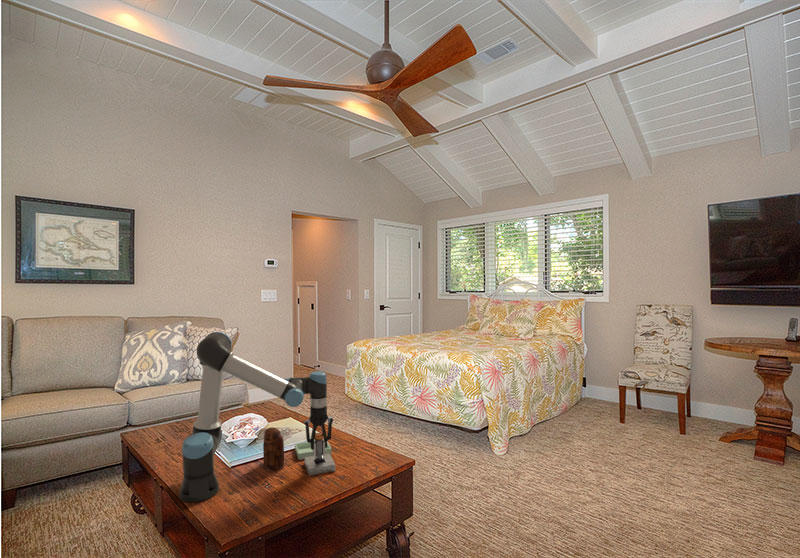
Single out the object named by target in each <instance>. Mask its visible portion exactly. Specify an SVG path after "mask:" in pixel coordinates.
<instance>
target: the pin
mask: <svg viewBox="0 0 800 558" xmlns="http://www.w3.org/2000/svg"><path fill="white" fill-rule="evenodd" d="M323 439H324V435H323V433H322V432H316V434H315V437H314V441H315V443H316V457H315V464H319V463H323Z"/></svg>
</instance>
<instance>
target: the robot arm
mask: <svg viewBox="0 0 800 558" xmlns="http://www.w3.org/2000/svg"><path fill="white" fill-rule="evenodd" d="M196 357H197V359H198V360H199V365H200V366H201V367H202V374H201V375H202V376H201V383H200V392H199V393H200V395H199V401H198V412H197V420H196V421H194V423H193V424H192V434H190V435H188V436H187V437H185V439H184V440H183V442H182V447H181V452H182V467H183V468H182V470H183V473H182V474H183V478H182V481H181V483H180V484H181V485H180V488H179V493H178V494H179V499H180V500H181V501H183V502H187V503H198V502H202V501H206V500H208V499H210V498H213V497H214V496H216V495H217V494H218V492H219V491H220V483H219V481H218V477H217V475H216V474H215V473H216V472H215V461H214V457H215V454H216V451H217V449H218V447H219V446H220V444H221V442H222V439H223V438H222V437H223V433H222V421H220V419H219V417H220V410H221V409H220V407H221V399H222V398H221V397H222V390H223V389H222V388H223V382H224V381H223V380H224V379H223V378H224V372H225V373H226V374H230V375H231V376H234V377H236V379H239V380H242V381H244V382H246V383H248V384H249V385H252V386H254V387H256V388H258V389H260V390H261V391H262V390H263V391H264V392H267V394H268V393H269V394H270V395H273V396H274V397H277V398H278V399H281V400H283V401H285V403H286V405H287V406H288V407H291V408H296V407H298V406H300V405H301V404H302V403H303V401H304V398H305V395H309V397H310V398H309V399H310V400H309V404H310V408H309V409H310V410H309V413H310V414H309V417H308V419H307V420H306V419H305V420H304V421H303V423H304V425H305V433H306V434H305V435H306V436H305V437H306V438H305V439H306V442H308V443H311V449H312V450H313V456H314V457H316V443H315V439H314V437H315V434H316V433H317V428H318V427H319V426H320V427H321V433H323V435H324V440H323V456H325V448H327V441H328V442H329V440H331V439H332V431H333V430H332V427H333V423H334V418H333V416H329V415H328V407H327V404H328V401H327V399H328V398H327V397H328V396H327V394H328V393H327V392H328V390H327V387H328V386H327V385H328V384H327V383H328V381H327V373H326V372H324V371H320V370H318V371H317V370H316V371H312V372H310V373H309V376H307V377H304V376H303V377H286V378H282V377H280V376H277V375H275V373H271V372H270V371H268V370H266V369H264V368H262V367H259V366H258V365H256V364H253V362H252V363H251V362H249V361H247V360H245V359H244V358H241V357H240V356H237V355H235V353H234V350H232V340H231V338H230V336H229V335H228V334H226V333H224V332H222V331H214V332H211V333H209V334H207V335H206V336H205V337H204V338H203V339H202V340H200V342H199V343H198V344H197V347H196ZM326 423H327V431H326V425H325V424H326ZM310 424H312V429H311V435H310Z"/></svg>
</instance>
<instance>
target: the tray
mask: <svg viewBox="0 0 800 558" xmlns="http://www.w3.org/2000/svg"><path fill="white" fill-rule="evenodd" d="M323 440H324V439H323ZM294 450H295V454H296V456H297V459H298V460H299V461H300V460H304V458H305V457H311V456H313V450H312V449H311V443H308V442H307V441H304V442H298V443H294ZM329 453H330V455H331V456H332V453H333V452H332V447H331V444H330V443H329V440H328V441H327V448H325V454H329Z"/></svg>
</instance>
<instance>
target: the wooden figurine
mask: <svg viewBox="0 0 800 558" xmlns="http://www.w3.org/2000/svg"><path fill="white" fill-rule="evenodd" d="M263 433H264V434H263V435H264V436H263V444H262V446H263V449H262V450H263V461H262V462H263V467H264V468H265V469H268V470H277V471H279V470H282V469H283V468H284V466H285V449H284V446H285V443H284V437H283V435H282V434H281V431H280V430H279V429H278V428H276V427H273V426H272V427H268V428H266V429H265V430H264V432H263Z"/></svg>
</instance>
